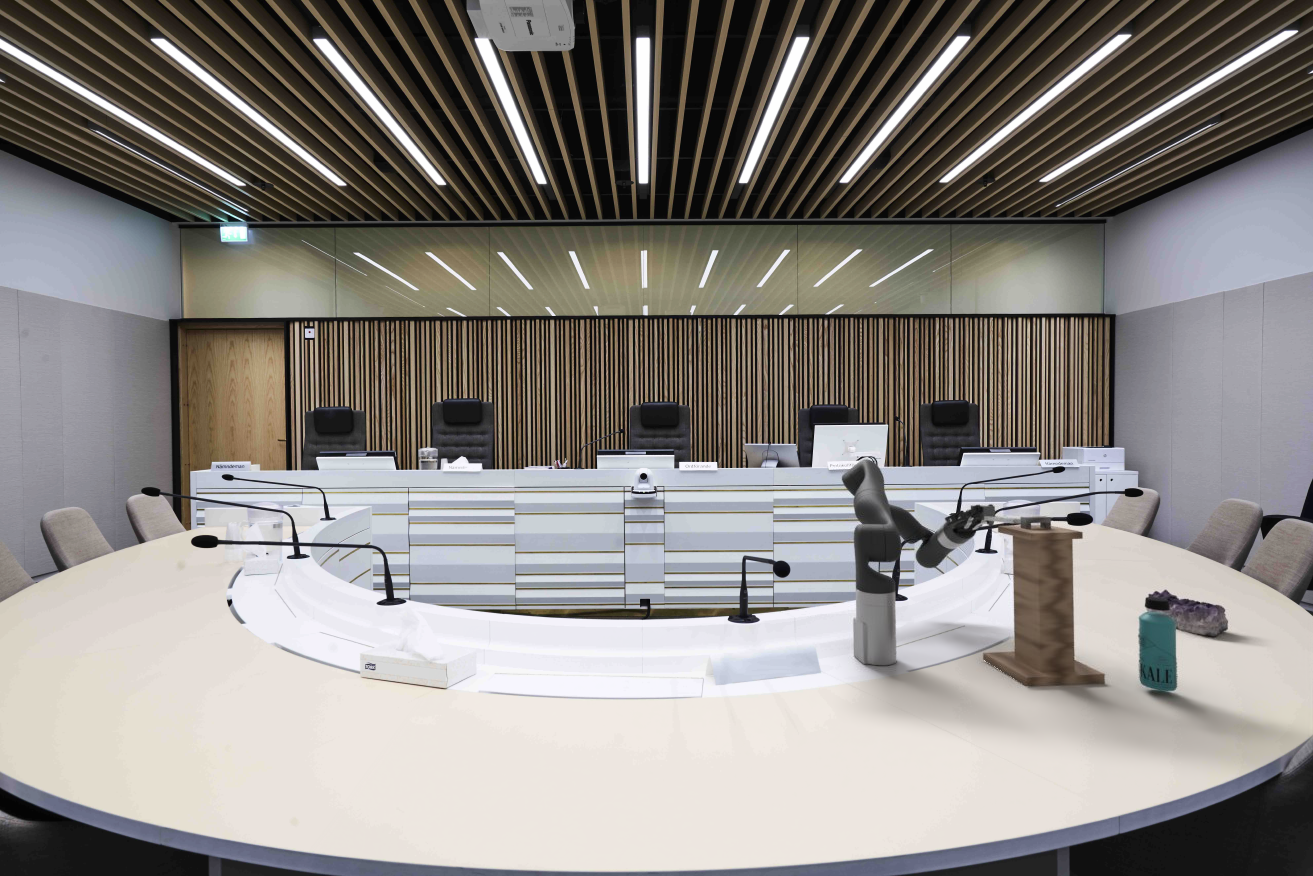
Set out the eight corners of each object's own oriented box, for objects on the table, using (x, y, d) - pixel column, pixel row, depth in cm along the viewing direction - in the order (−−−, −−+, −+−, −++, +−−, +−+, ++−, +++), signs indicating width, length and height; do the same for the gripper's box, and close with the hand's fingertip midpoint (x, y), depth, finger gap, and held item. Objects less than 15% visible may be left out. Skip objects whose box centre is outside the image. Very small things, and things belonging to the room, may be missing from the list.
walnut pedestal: (1026, 686, 138) (1023, 523, 138) (983, 660, 153) (980, 514, 154) (1104, 683, 139) (1102, 521, 139) (1053, 658, 155) (1051, 512, 155)
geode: (1130, 620, 186) (1132, 585, 187) (1159, 621, 189) (1161, 587, 190) (1208, 637, 166) (1209, 599, 167) (1238, 639, 170) (1240, 601, 170)
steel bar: (1013, 523, 153) (1012, 508, 153) (971, 518, 171) (970, 505, 171) (1025, 523, 153) (1024, 508, 153) (981, 518, 171) (981, 505, 171)
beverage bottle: (1163, 686, 136) (1162, 594, 136) (1186, 699, 130) (1184, 602, 130) (1131, 686, 137) (1130, 593, 137) (1152, 698, 130) (1150, 601, 130)
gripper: (928, 520, 183) (956, 495, 168) (975, 519, 184) (1007, 494, 169) (935, 545, 179) (964, 521, 164) (983, 543, 180) (1016, 520, 165)
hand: (986, 507), depth 167 cm, fingers closed on steel bar, 3 cm apart
